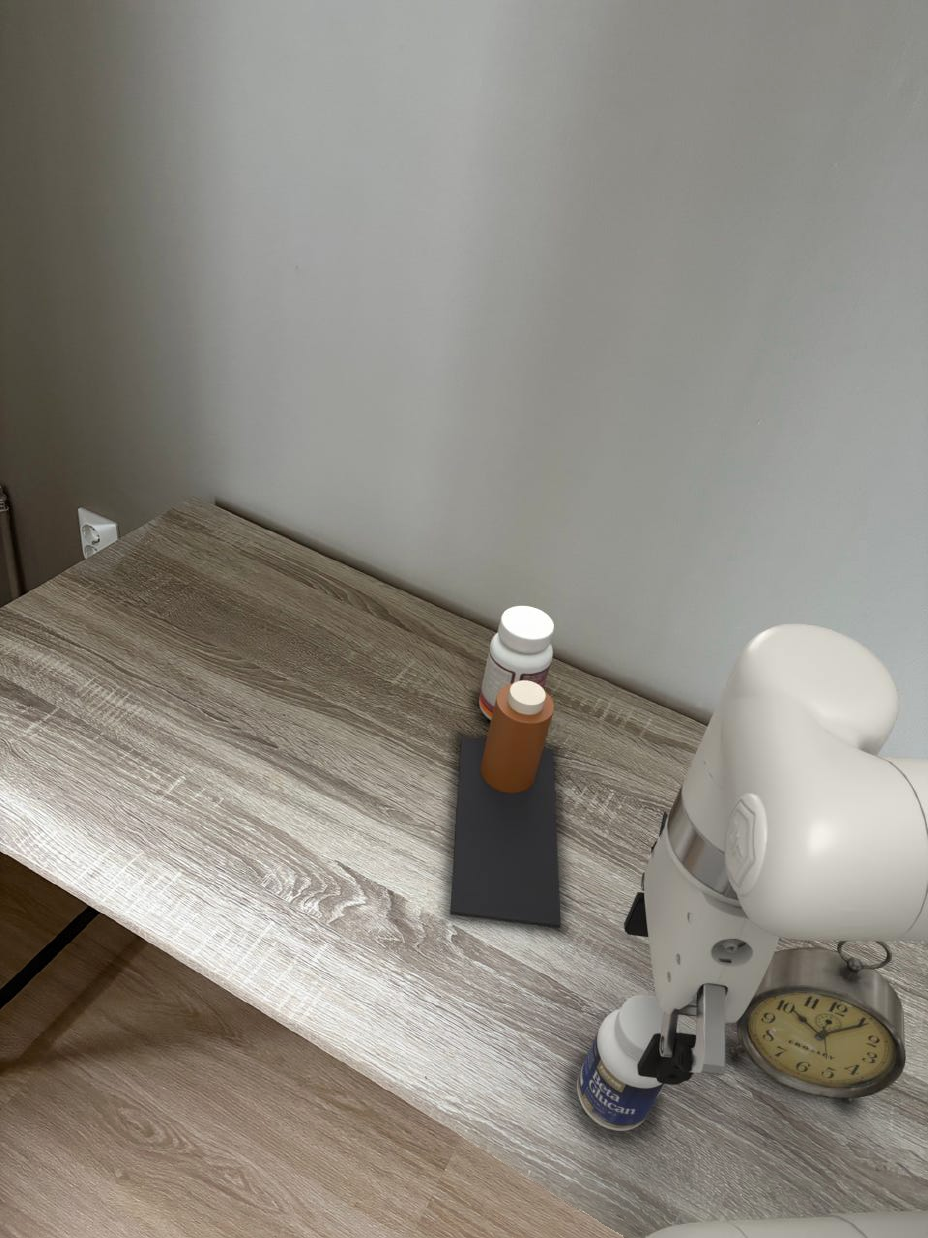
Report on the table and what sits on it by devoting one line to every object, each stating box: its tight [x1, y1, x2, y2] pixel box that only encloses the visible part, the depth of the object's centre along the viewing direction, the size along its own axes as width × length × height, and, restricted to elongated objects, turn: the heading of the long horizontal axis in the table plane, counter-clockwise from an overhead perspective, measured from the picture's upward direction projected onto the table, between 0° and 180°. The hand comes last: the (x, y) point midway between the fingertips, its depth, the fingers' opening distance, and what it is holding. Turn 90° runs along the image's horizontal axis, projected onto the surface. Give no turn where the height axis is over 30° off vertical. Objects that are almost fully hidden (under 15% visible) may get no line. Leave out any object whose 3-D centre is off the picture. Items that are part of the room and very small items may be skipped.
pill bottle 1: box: [478, 605, 555, 721], centre depth 96 cm, size 6×6×11 cm
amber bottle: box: [480, 680, 555, 793], centre depth 89 cm, size 5×5×10 cm
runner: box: [449, 736, 561, 929], centre depth 87 cm, size 20×9×1 cm, turn 178°
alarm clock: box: [728, 941, 907, 1105], centre depth 68 cm, size 11×5×16 cm, turn 69°
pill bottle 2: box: [576, 994, 680, 1132], centre depth 66 cm, size 5×5×10 cm
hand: (653, 999), depth 63 cm, fingers open, 9 cm apart
